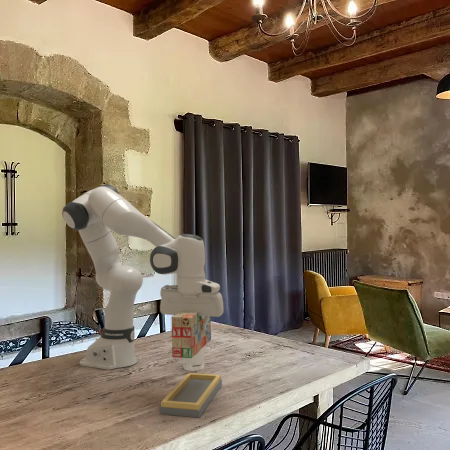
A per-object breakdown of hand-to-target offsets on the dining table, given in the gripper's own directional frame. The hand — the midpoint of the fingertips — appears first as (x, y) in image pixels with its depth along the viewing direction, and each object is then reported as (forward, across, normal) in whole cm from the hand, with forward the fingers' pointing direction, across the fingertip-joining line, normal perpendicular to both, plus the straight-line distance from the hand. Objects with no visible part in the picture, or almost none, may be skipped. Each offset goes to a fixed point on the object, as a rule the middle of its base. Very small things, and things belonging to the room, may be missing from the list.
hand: (191, 329), depth 148 cm
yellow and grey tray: (+22, 0, 0) cm, 22 cm away
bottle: (+22, -9, +30) cm, 38 cm away
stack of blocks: (+6, 0, +1) cm, 6 cm away
